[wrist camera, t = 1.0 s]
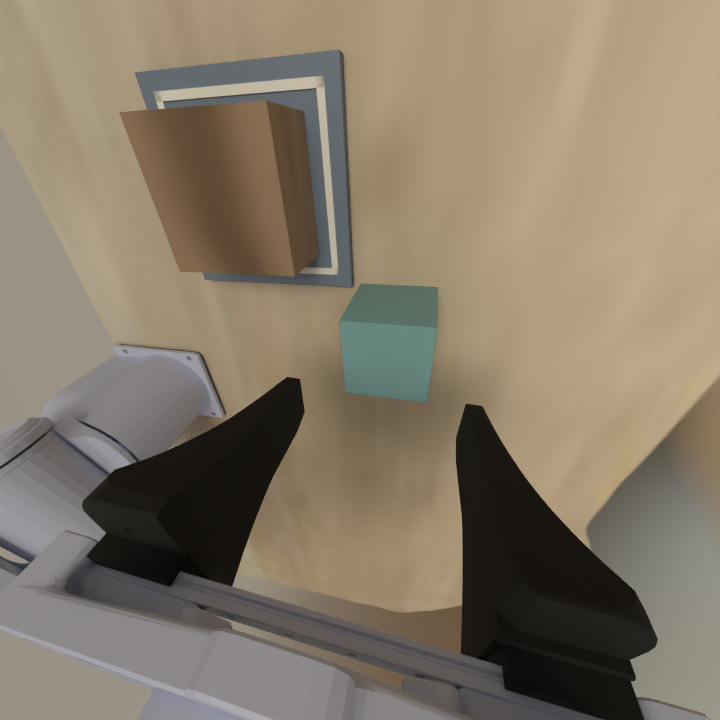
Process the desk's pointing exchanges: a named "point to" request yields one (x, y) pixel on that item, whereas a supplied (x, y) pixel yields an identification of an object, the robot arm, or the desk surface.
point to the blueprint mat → (323, 131)
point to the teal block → (389, 341)
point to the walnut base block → (230, 185)
